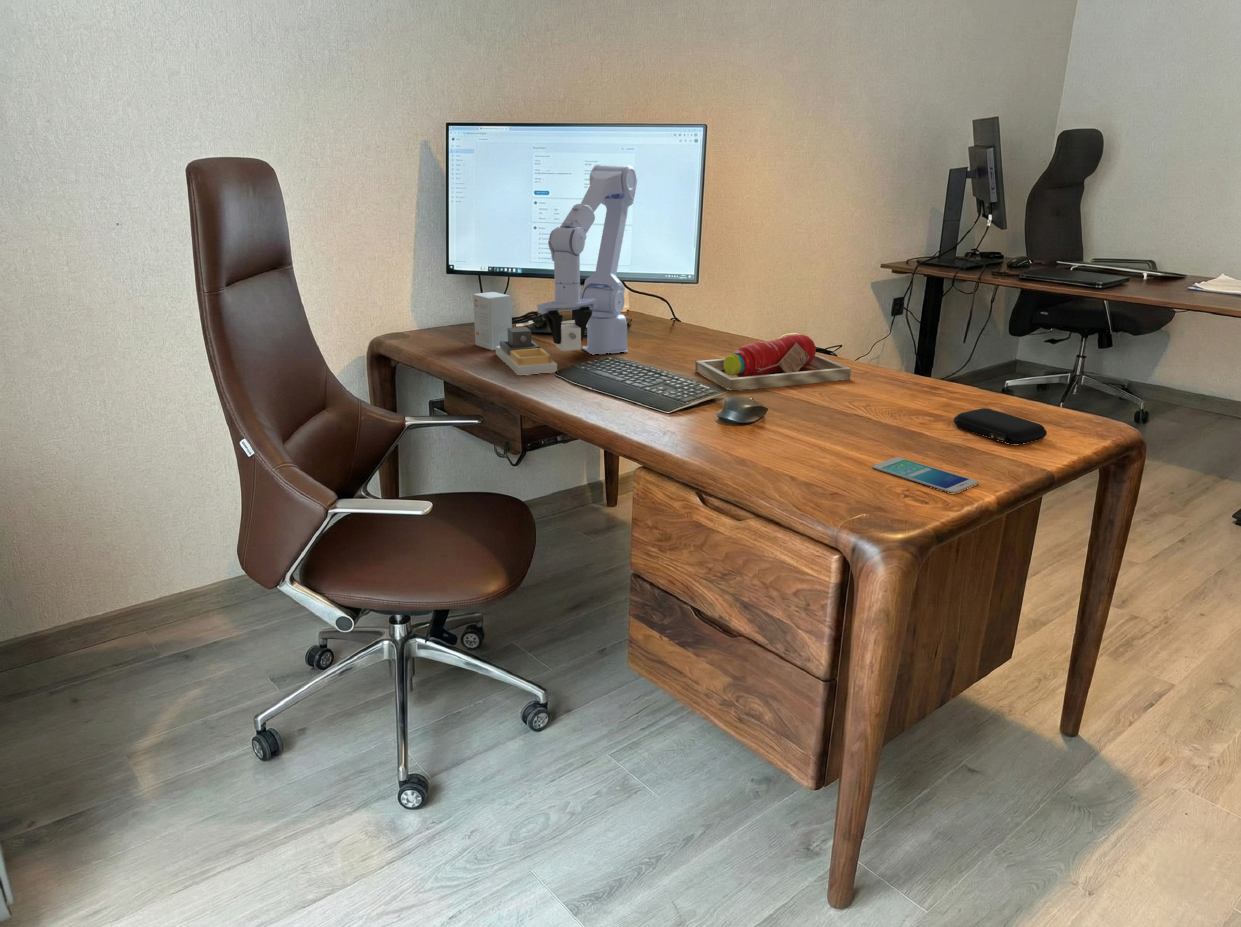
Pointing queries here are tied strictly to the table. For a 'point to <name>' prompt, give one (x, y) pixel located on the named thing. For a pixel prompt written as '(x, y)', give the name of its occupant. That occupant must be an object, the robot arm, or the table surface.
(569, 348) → the plug
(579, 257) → the robot arm
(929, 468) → the smartphone
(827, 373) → the desk tray
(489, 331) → the small box
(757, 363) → the water bottle
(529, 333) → the twin plug
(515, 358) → the white base platform
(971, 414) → the carrying case or bag
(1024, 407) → the table surface
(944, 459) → the table surface
